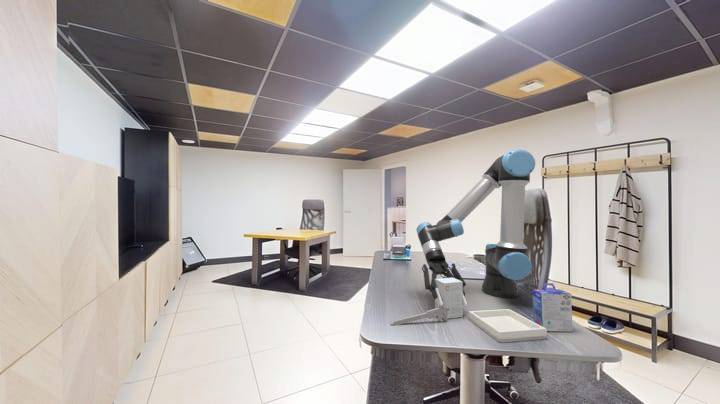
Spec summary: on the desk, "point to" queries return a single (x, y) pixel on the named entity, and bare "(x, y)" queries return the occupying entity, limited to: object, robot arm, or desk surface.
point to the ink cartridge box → (552, 308)
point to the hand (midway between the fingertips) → (453, 305)
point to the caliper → (424, 316)
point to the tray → (507, 325)
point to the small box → (450, 296)
